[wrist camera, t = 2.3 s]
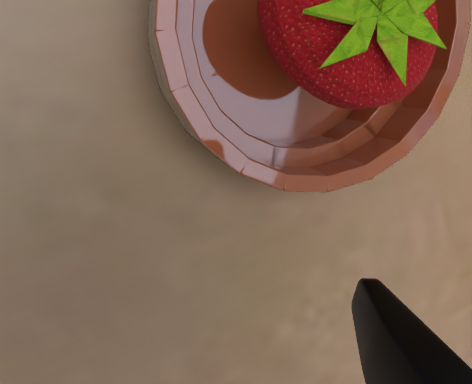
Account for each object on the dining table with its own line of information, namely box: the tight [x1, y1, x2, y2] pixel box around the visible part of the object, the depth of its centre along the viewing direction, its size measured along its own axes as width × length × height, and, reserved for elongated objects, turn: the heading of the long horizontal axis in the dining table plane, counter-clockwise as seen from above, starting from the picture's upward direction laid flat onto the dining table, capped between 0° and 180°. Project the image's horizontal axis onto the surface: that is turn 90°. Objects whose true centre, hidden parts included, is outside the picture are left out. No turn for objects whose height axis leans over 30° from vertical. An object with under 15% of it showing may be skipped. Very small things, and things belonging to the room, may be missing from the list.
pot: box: [148, 0, 471, 192], centre depth 18 cm, size 14×14×5 cm
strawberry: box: [257, 0, 447, 110], centre depth 15 cm, size 6×8×10 cm
